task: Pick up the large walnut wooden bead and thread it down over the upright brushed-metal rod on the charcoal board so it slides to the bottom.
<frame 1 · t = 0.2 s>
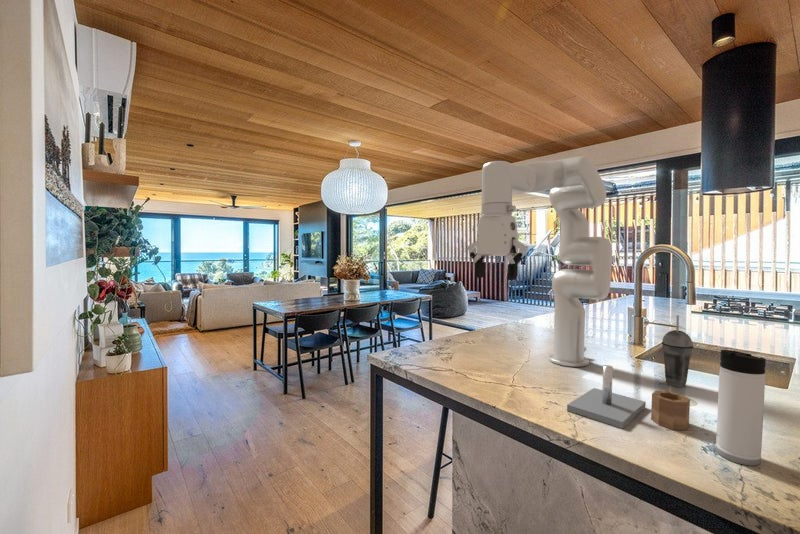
hand: (495, 278, 97), 31 cm above the counter, tool pointing down, fingers open, 9 cm apart
rod board: (606, 409, 91), on the counter
beverage cup: (675, 385, 107), on the counter
walnut bead: (669, 422, 84), on the counter
metal rod: (607, 384, 90), on the rod board, point 6 cm above the counter
travel mug: (736, 457, 70), on the counter
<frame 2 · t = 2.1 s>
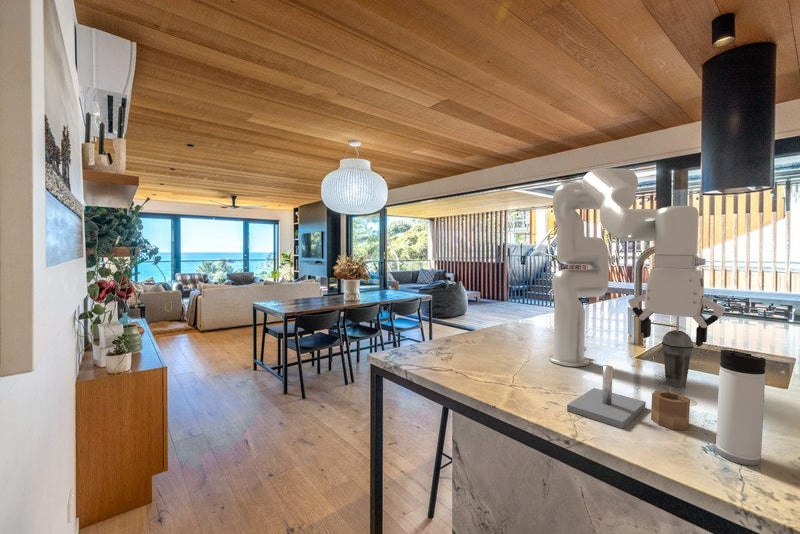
hand: (672, 340, 83), 18 cm above the counter, tool pointing down, fingers open, 9 cm apart
nothing on the counter moved.
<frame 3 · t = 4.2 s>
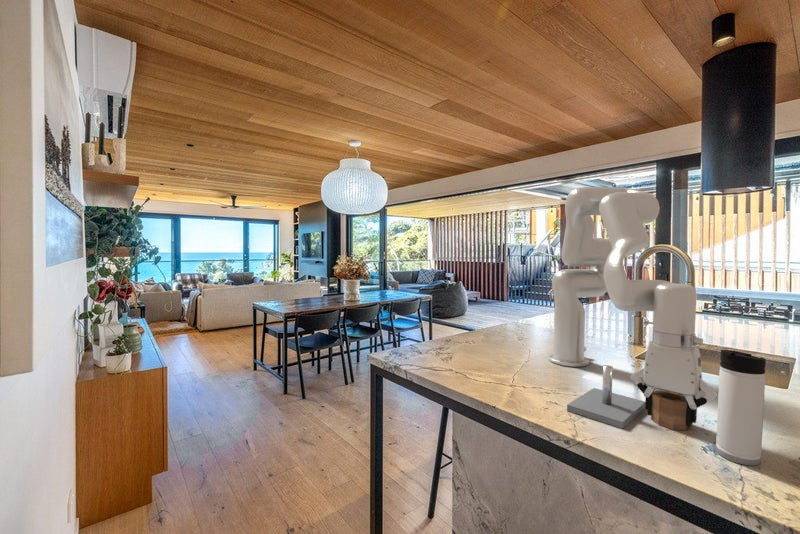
hand: (669, 418, 84), 1 cm above the counter, tool pointing down, fingers closed on walnut bead, 6 cm apart
walnut bead: (669, 422, 84), on the counter, touching gripper
everything else where it was.
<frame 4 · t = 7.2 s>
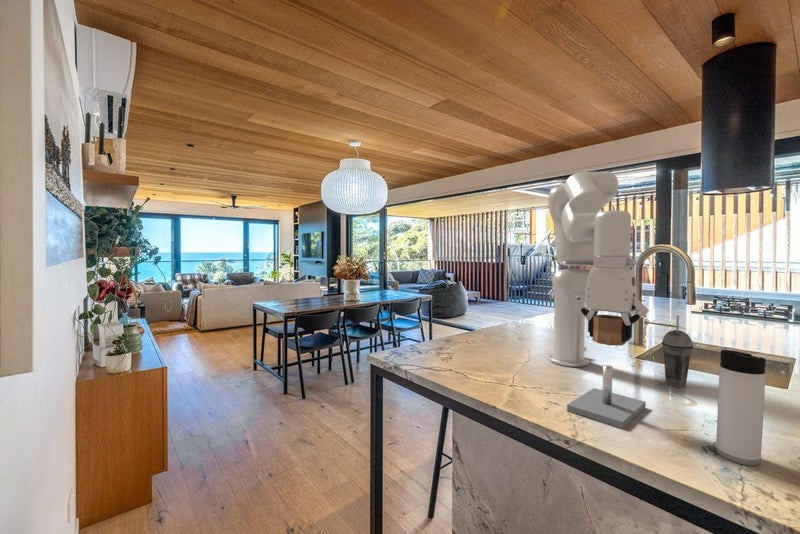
hand: (608, 337, 90), 17 cm above the counter, tool pointing down, fingers closed on walnut bead, 6 cm apart
walnut bead: (608, 341, 90), point 16 cm above the counter, touching gripper
everything else where it was.
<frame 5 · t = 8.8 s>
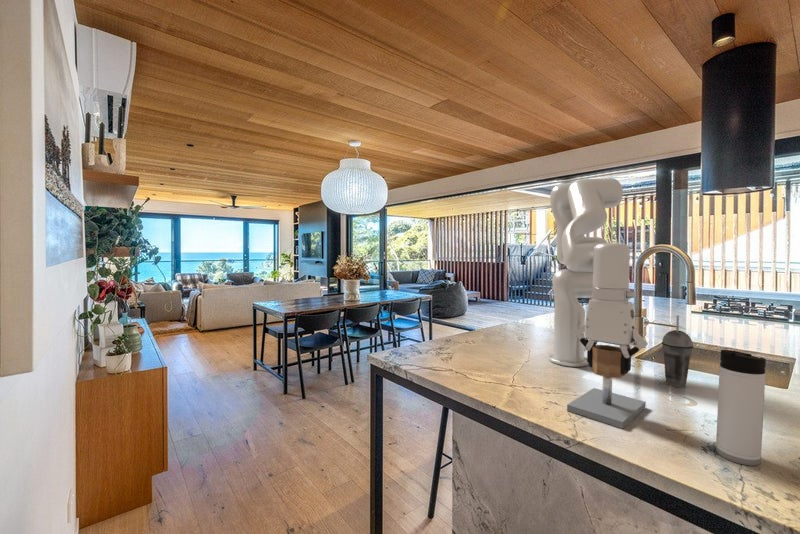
hand: (608, 369, 90), 10 cm above the counter, tool pointing down, fingers closed on walnut bead, 6 cm apart
walnut bead: (607, 373, 90), point 9 cm above the counter, touching gripper
everything else where it was.
when the fingers open (7 cm above the counter, at t = 10.1 s): walnut bead drops 4 cm, resting on rod board.
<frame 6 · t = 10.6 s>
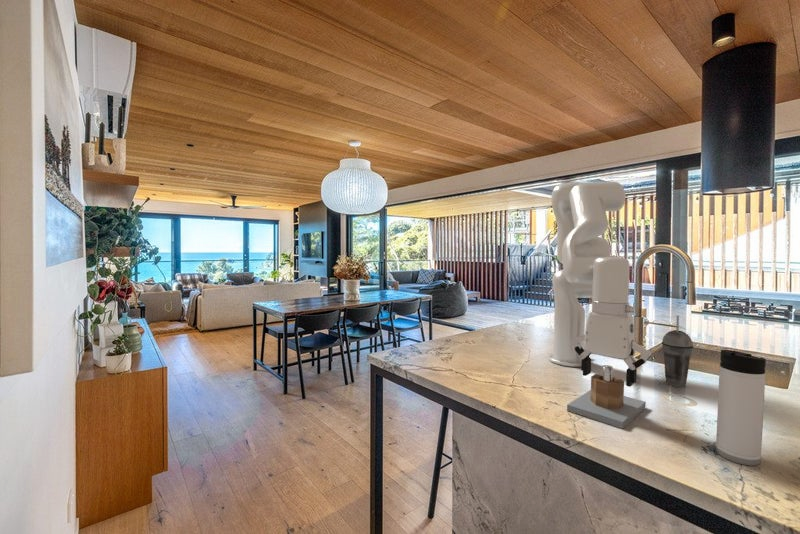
hand: (607, 379, 90), 7 cm above the counter, tool pointing down, fingers open, 9 cm apart
walnut bead: (606, 403, 91), point 1 cm above the counter, touching rod board
everything else where it was.
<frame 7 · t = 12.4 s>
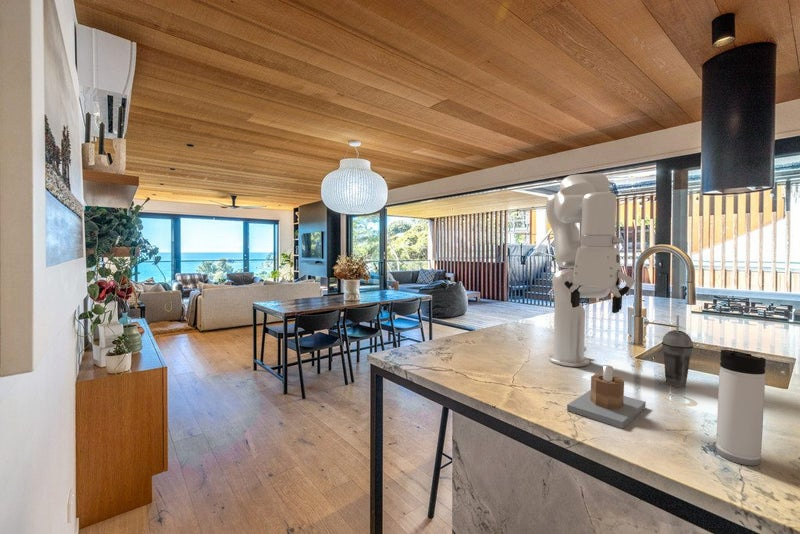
hand: (594, 309, 96), 23 cm above the counter, tool pointing down, fingers open, 9 cm apart
nothing on the counter moved.
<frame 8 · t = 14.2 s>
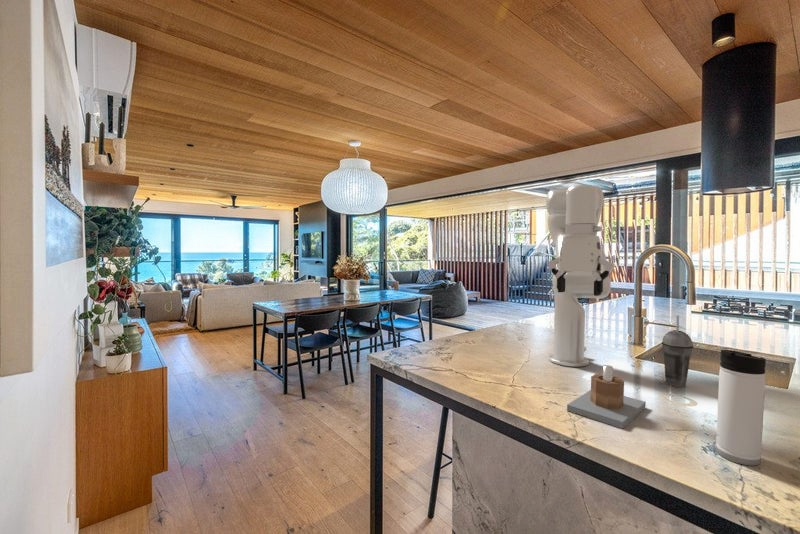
hand: (578, 293, 103), 26 cm above the counter, tool pointing down, fingers open, 9 cm apart
nothing on the counter moved.
at the end: walnut bead 0.0 cm off-centre on the metal rod, point 1.5 cm above the metal rod's base; the gripper is holding nothing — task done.
